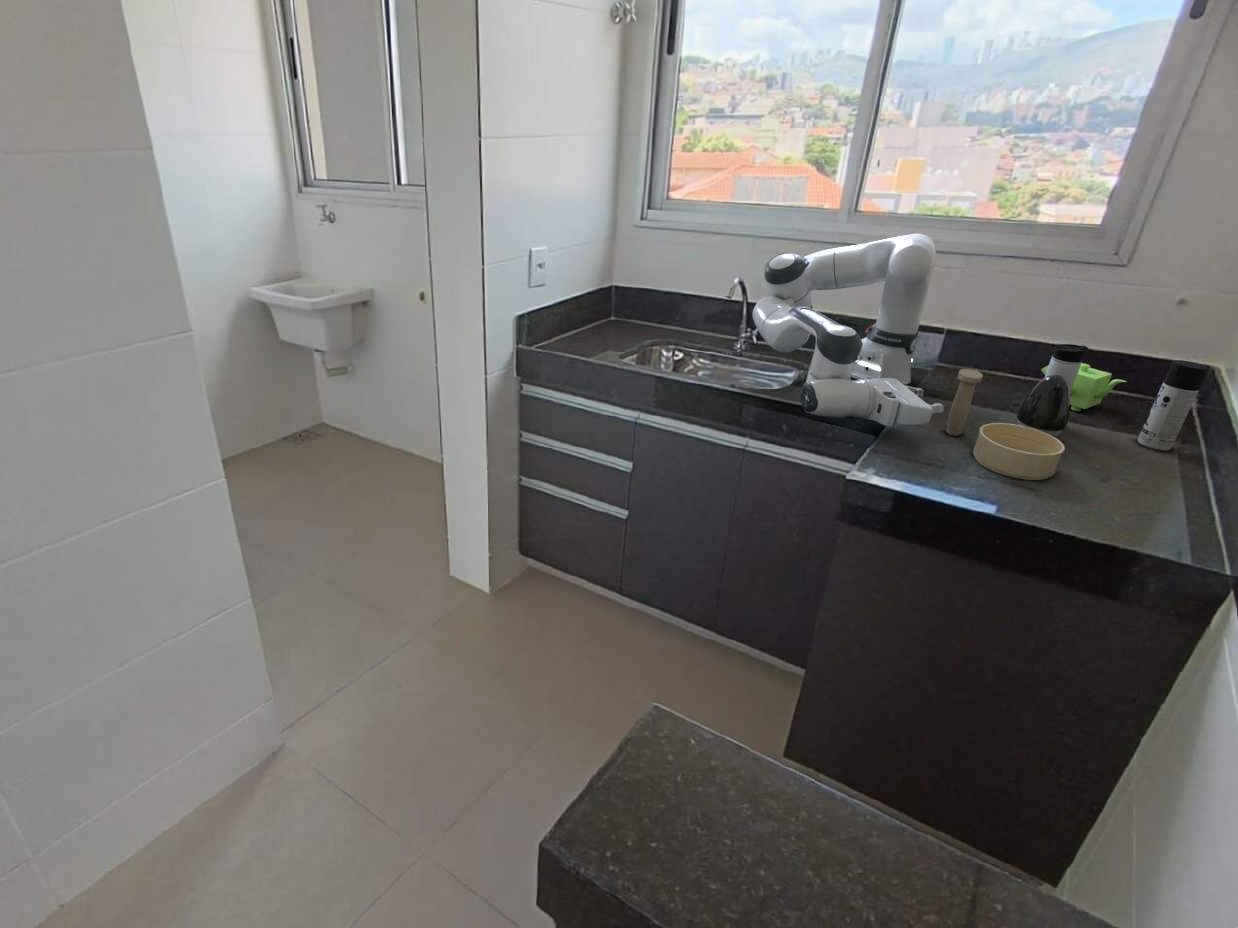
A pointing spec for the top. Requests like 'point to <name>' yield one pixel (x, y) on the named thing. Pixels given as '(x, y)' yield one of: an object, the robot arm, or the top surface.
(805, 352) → the top surface
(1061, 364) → the travel mug
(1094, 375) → the kettle
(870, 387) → the robot arm
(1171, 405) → the spray can
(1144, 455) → the top surface
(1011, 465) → the bowl
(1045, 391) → the black tapered dome
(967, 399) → the handle
